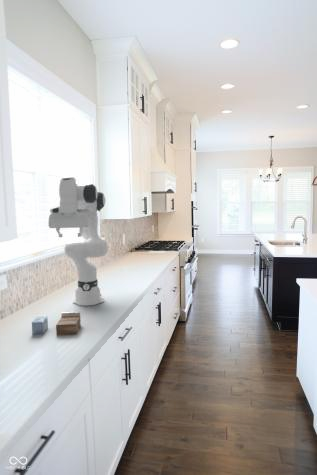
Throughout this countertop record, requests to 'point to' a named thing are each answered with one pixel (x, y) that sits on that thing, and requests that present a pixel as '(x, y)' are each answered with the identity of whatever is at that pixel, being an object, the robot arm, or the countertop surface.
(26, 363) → the countertop surface
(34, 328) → the block
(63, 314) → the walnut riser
